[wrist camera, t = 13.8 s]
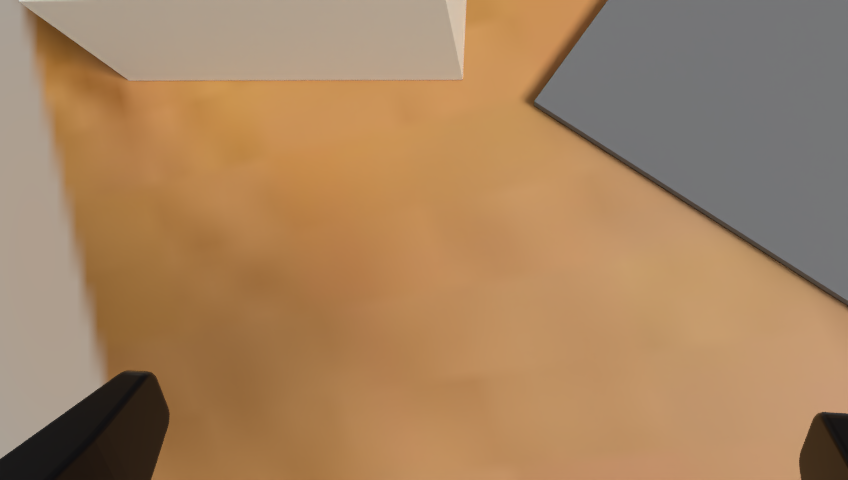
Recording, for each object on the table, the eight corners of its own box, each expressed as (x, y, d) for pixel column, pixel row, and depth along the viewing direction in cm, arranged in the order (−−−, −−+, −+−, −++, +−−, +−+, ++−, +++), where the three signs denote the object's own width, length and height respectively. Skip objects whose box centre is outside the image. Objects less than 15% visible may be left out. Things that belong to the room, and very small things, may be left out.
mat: (917, 349, 22) (924, 349, 21) (533, 105, 24) (534, 101, 24) (1162, -14, 22) (1174, -21, 22) (763, -209, 25) (766, -217, 25)
